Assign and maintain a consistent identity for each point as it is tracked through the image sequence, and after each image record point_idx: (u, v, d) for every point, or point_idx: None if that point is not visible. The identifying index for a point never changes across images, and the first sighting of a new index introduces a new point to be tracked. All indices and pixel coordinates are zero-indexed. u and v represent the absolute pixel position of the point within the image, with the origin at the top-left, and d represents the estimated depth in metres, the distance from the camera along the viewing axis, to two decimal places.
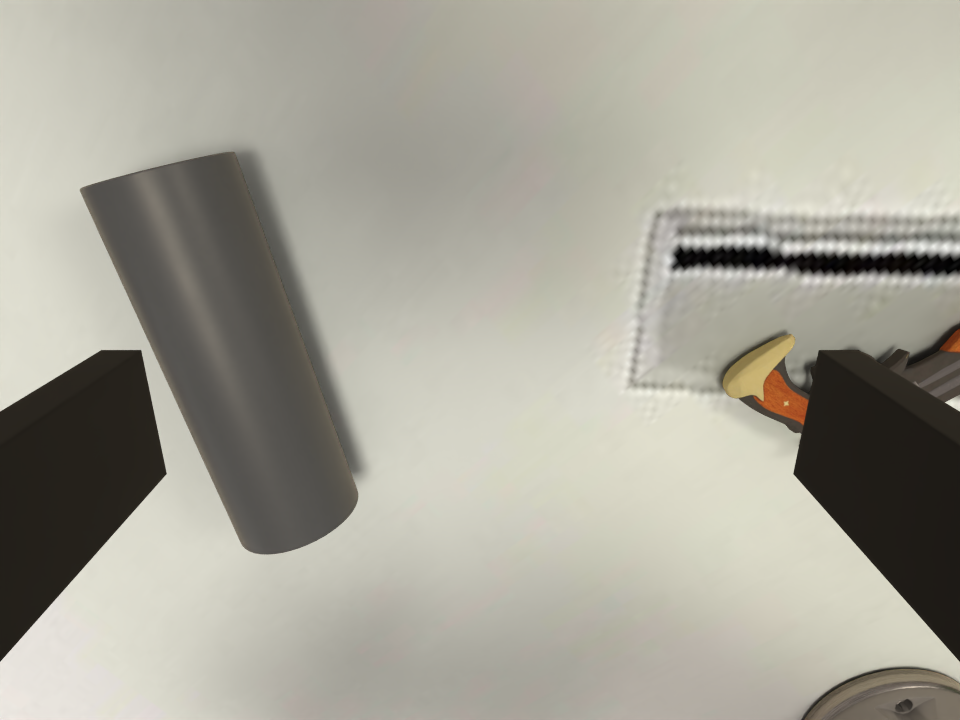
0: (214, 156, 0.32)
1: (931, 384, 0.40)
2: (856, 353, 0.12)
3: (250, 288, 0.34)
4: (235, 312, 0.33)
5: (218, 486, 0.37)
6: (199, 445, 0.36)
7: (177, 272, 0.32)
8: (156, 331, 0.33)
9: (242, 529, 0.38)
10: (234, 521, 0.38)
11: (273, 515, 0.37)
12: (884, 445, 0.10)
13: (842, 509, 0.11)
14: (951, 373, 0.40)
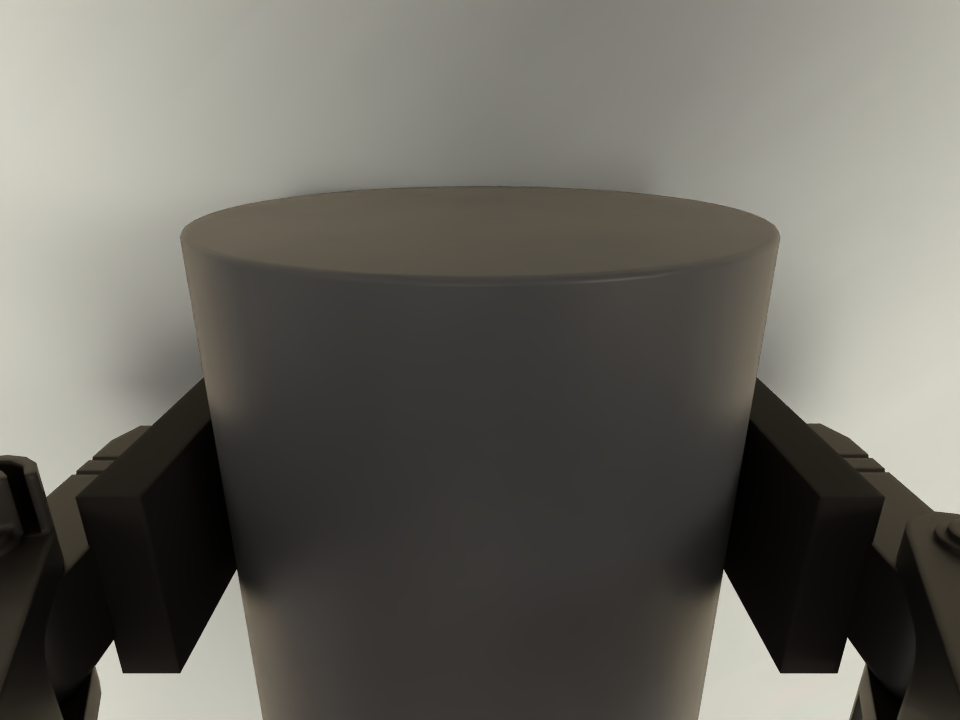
0: (779, 237, 0.08)
1: None
2: None
3: (698, 696, 0.09)
4: None
5: None
6: None
7: (546, 702, 0.07)
8: None
9: None
10: None
11: None
12: None
13: None
14: None
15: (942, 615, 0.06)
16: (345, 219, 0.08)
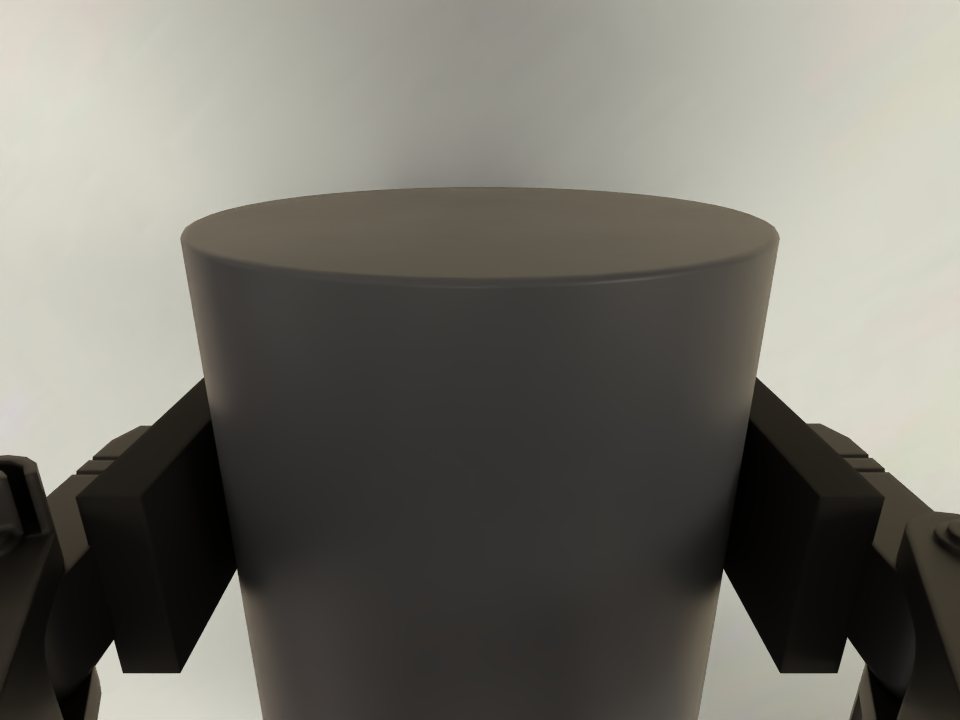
0: (778, 238, 0.08)
1: None
2: None
3: (698, 698, 0.09)
4: None
5: None
6: None
7: (545, 702, 0.07)
8: None
9: None
10: None
11: None
12: None
13: None
14: None
15: (942, 615, 0.06)
16: (345, 220, 0.08)
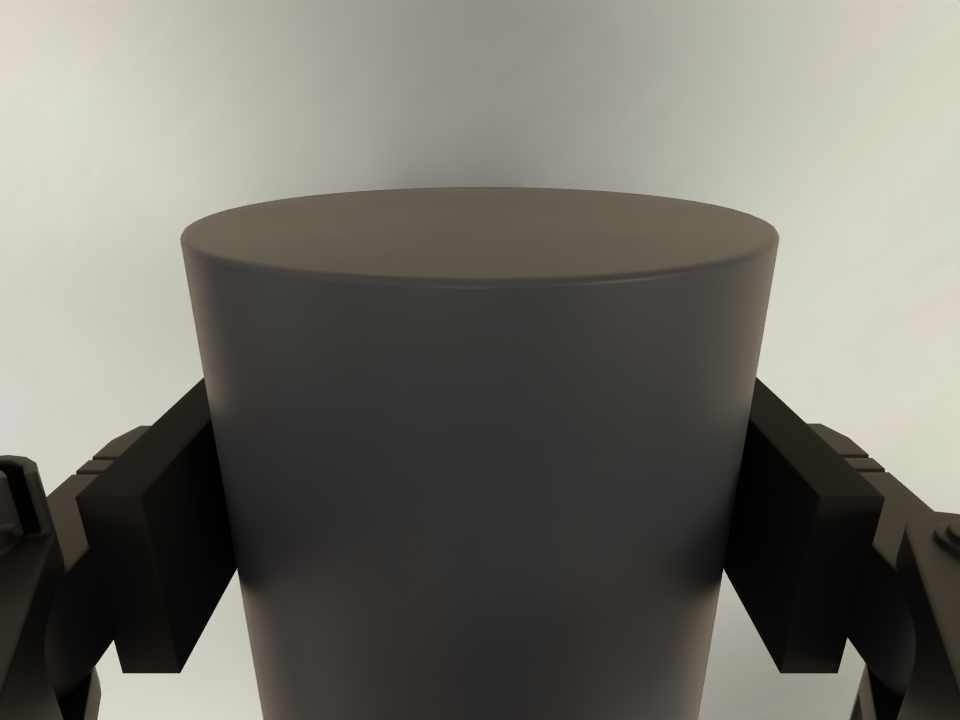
0: None
1: None
2: None
3: (698, 697, 0.09)
4: None
5: None
6: None
7: (545, 702, 0.07)
8: None
9: None
10: None
11: None
12: None
13: None
14: None
15: (942, 615, 0.06)
16: (345, 220, 0.08)
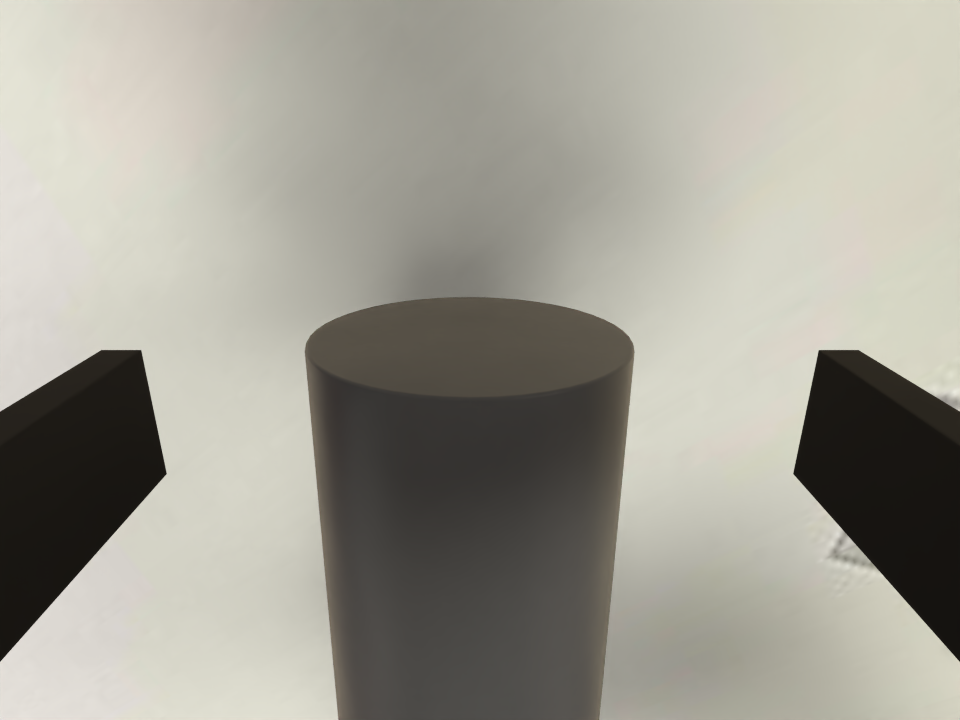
0: (632, 358, 0.14)
1: None
2: (856, 353, 0.12)
3: (600, 622, 0.16)
4: (569, 680, 0.15)
5: None
6: None
7: (504, 609, 0.13)
8: (391, 693, 0.15)
9: None
10: None
11: None
12: (883, 445, 0.10)
13: (842, 509, 0.11)
14: None
15: None
16: (393, 342, 0.15)
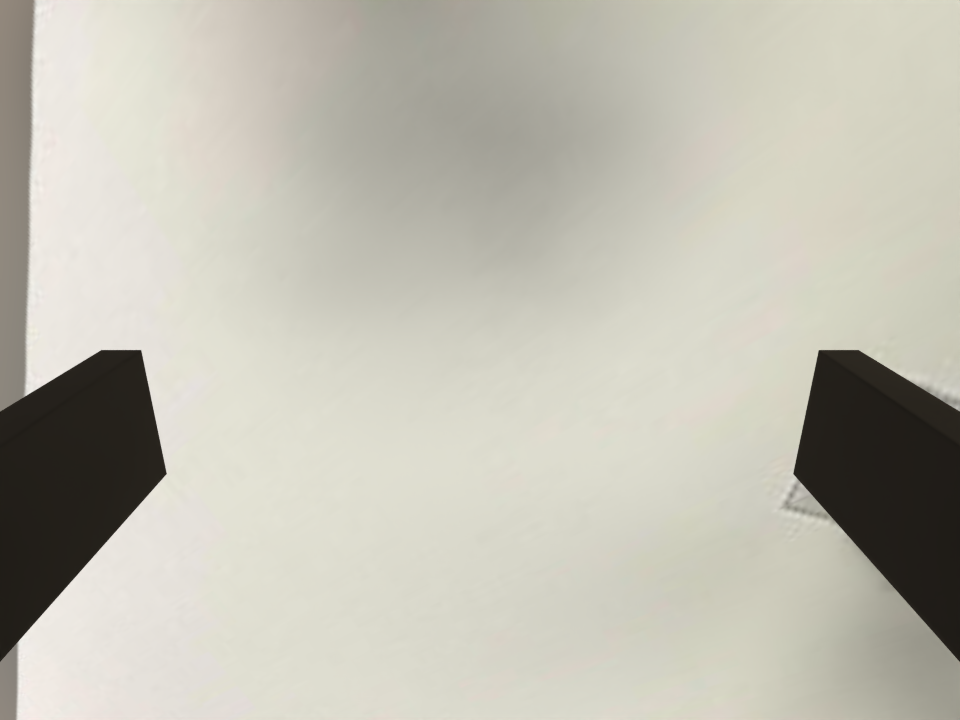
0: None
1: None
2: (856, 353, 0.12)
3: None
4: None
5: None
6: None
7: None
8: None
9: None
10: None
11: None
12: (882, 445, 0.10)
13: (842, 509, 0.11)
14: None
15: None
16: None
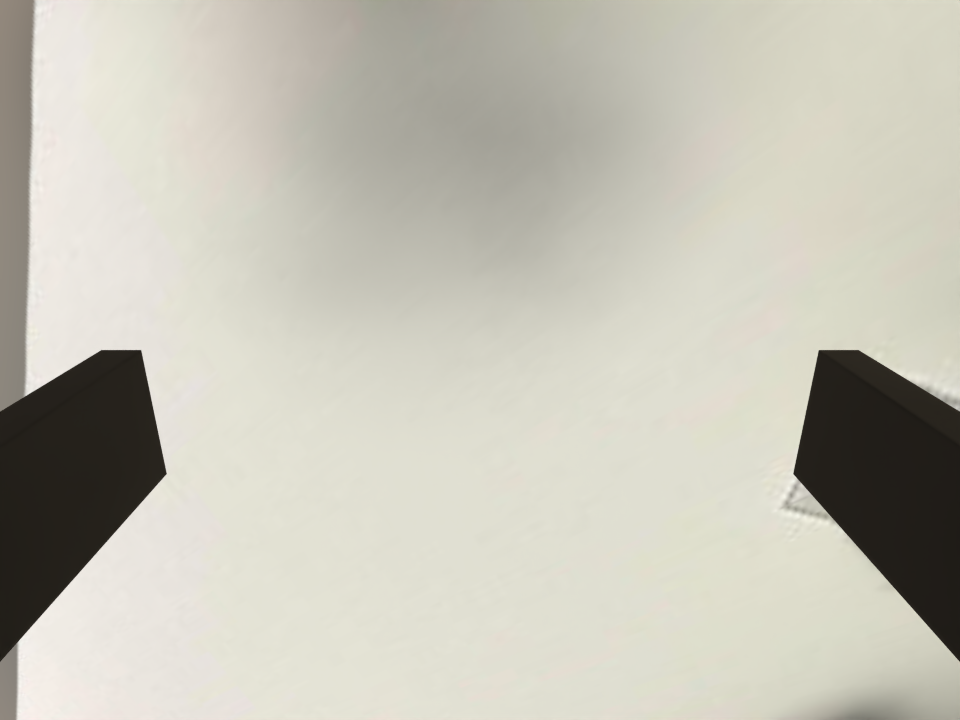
0: None
1: None
2: (856, 353, 0.12)
3: None
4: None
5: None
6: None
7: None
8: None
9: None
10: None
11: None
12: (882, 445, 0.10)
13: (842, 509, 0.11)
14: None
15: None
16: None
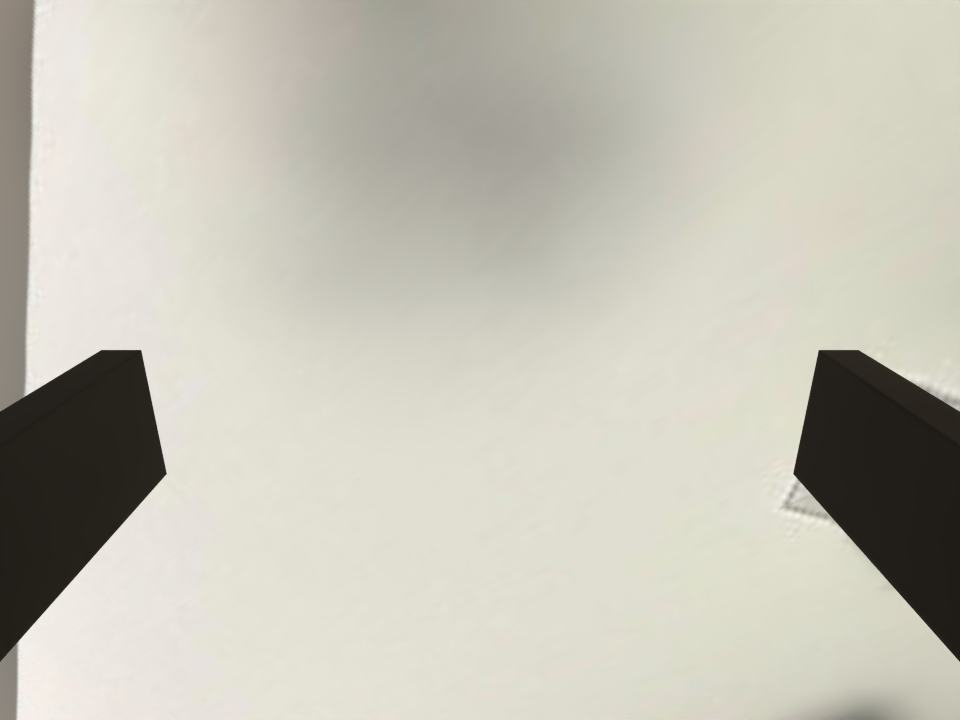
0: None
1: None
2: (856, 353, 0.12)
3: None
4: None
5: None
6: None
7: None
8: None
9: None
10: None
11: None
12: (882, 445, 0.10)
13: (842, 509, 0.11)
14: None
15: None
16: None
